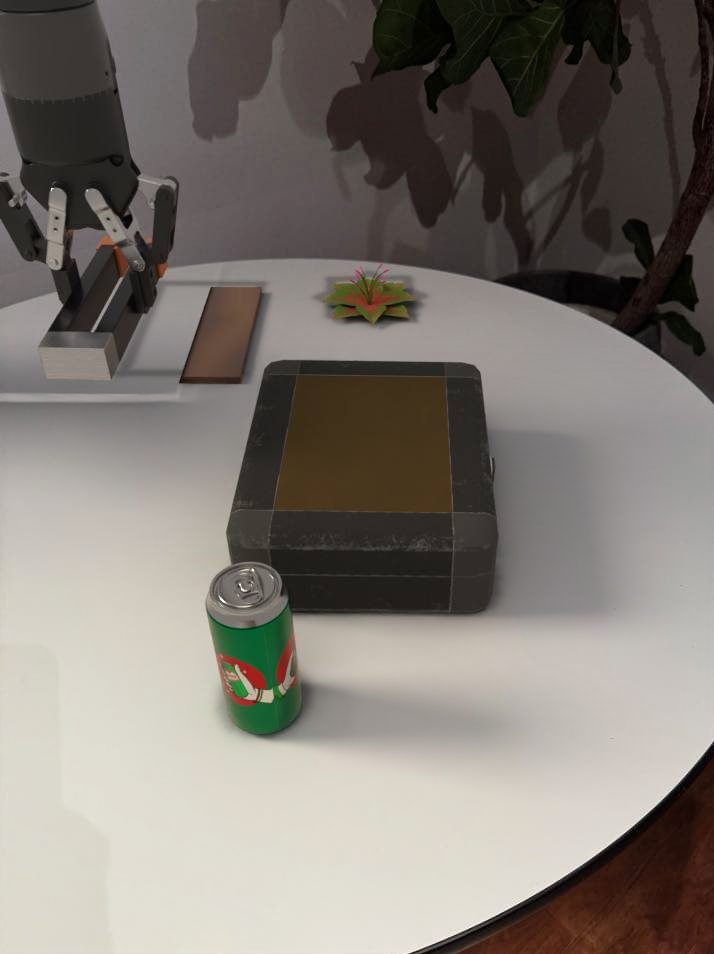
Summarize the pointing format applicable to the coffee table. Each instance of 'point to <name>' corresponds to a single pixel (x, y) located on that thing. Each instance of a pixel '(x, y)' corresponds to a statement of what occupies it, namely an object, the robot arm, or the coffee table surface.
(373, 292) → the lily flower
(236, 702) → the soda can
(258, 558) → the cash box
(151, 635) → the coffee table surface
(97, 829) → the coffee table surface
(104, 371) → the tongs
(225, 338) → the board
